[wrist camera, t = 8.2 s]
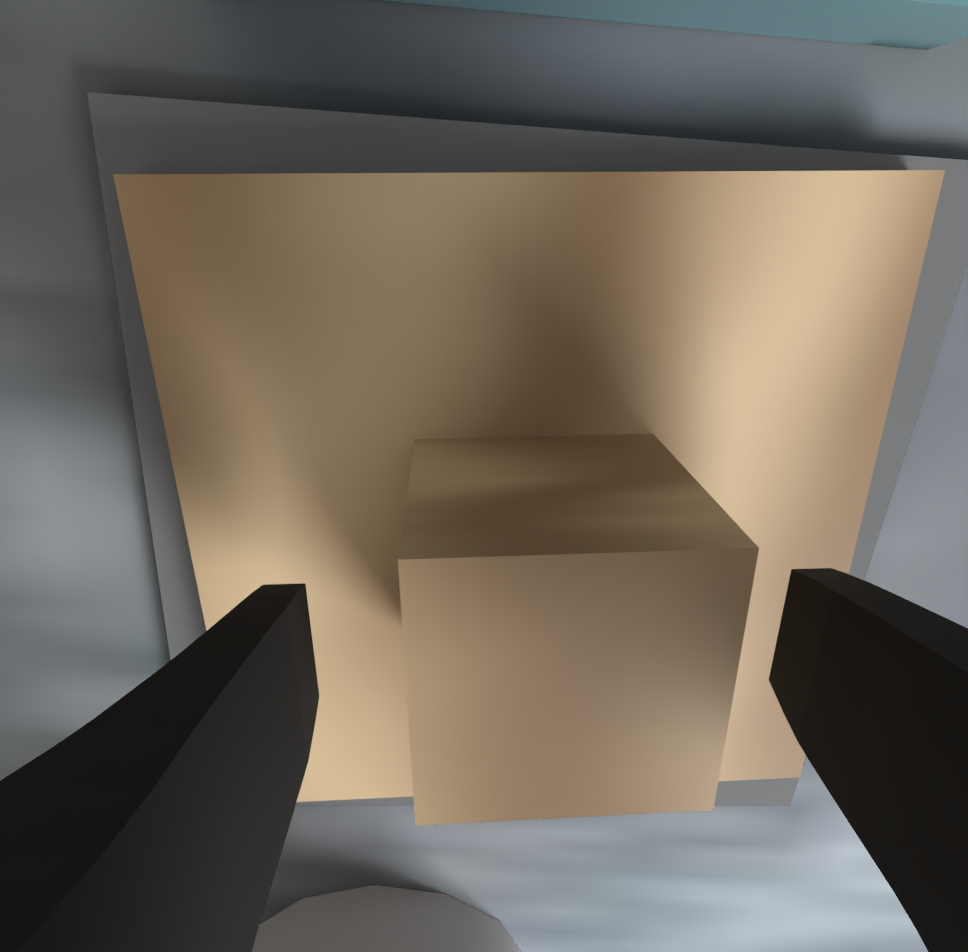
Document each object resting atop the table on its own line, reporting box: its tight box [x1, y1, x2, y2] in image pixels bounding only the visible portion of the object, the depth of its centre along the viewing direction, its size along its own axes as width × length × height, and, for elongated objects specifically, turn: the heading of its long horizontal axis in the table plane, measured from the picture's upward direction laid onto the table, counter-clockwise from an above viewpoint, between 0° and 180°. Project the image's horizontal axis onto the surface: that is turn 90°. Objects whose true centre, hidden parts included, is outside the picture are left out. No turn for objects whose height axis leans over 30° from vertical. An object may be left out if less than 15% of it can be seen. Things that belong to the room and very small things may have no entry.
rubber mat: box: [87, 92, 968, 806], centre depth 13 cm, size 14×14×1 cm
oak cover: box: [113, 170, 945, 825], centre depth 10 cm, size 12×12×5 cm
